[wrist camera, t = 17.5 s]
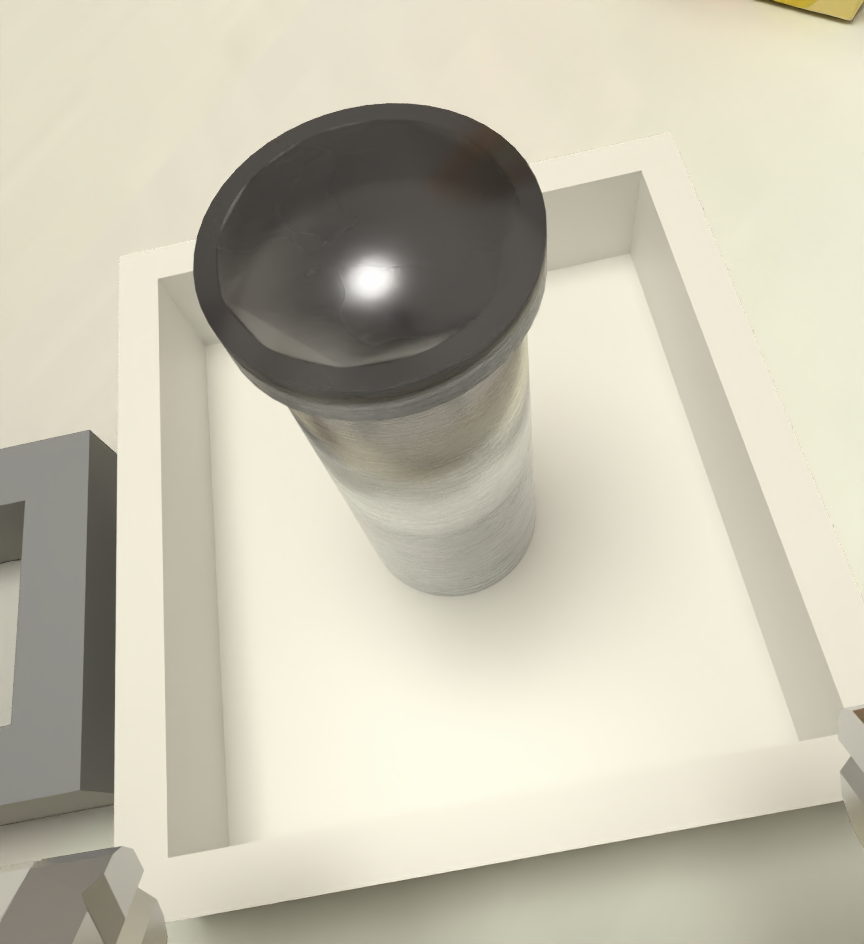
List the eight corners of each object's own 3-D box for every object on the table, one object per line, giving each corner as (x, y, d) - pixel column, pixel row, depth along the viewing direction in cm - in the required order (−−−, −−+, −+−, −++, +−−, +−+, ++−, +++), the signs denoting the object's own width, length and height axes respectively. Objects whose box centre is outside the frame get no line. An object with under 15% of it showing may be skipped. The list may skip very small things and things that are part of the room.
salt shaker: (371, 627, 18) (199, 425, 9) (348, 451, 20) (187, 145, 11) (568, 588, 18) (586, 342, 9) (525, 414, 20) (506, 72, 11)
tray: (197, 914, 17) (112, 932, 14) (179, 336, 23) (118, 256, 20) (860, 793, 16) (938, 783, 13) (653, 232, 23) (671, 131, 19)
